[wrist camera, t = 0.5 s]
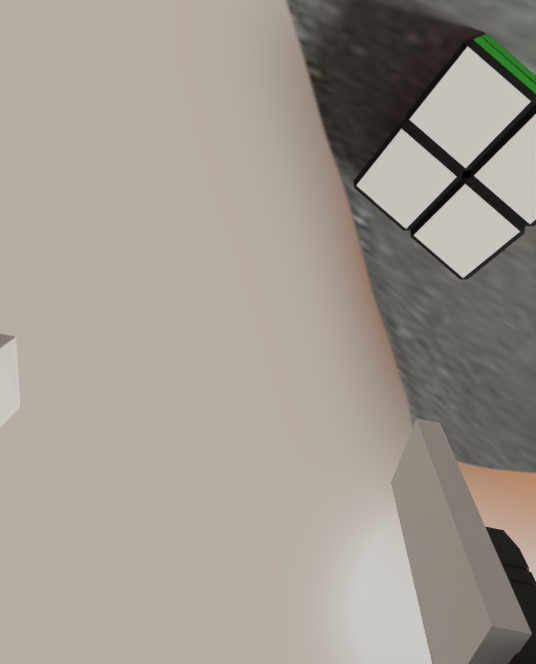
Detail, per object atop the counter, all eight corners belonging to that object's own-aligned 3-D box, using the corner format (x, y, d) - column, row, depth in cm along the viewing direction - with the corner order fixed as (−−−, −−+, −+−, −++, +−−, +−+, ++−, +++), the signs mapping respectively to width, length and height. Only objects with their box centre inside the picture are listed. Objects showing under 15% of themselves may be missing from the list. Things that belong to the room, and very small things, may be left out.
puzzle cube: (385, 152, 37) (349, 186, 30) (483, 29, 30) (467, 34, 23) (477, 231, 37) (463, 285, 30) (595, 126, 31) (615, 162, 23)
